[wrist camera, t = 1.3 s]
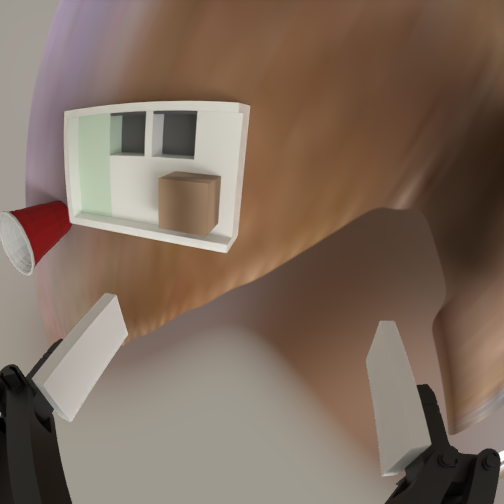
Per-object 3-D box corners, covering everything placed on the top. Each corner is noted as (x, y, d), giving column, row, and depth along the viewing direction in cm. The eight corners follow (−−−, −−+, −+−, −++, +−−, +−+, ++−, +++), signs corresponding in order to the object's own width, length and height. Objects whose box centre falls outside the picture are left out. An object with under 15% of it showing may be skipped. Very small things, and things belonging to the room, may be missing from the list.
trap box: (250, 105, 29) (239, 102, 24) (237, 236, 36) (226, 253, 32) (88, 109, 32) (64, 111, 28) (91, 211, 39) (70, 222, 35)
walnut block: (221, 176, 30) (208, 183, 27) (218, 223, 33) (206, 236, 29) (175, 171, 31) (158, 178, 27) (174, 216, 33) (158, 228, 30)
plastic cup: (40, 224, 43) (-5, 250, 33) (49, 176, 38) (-4, 198, 28) (75, 257, 44) (30, 290, 34) (88, 209, 39) (33, 239, 29)
